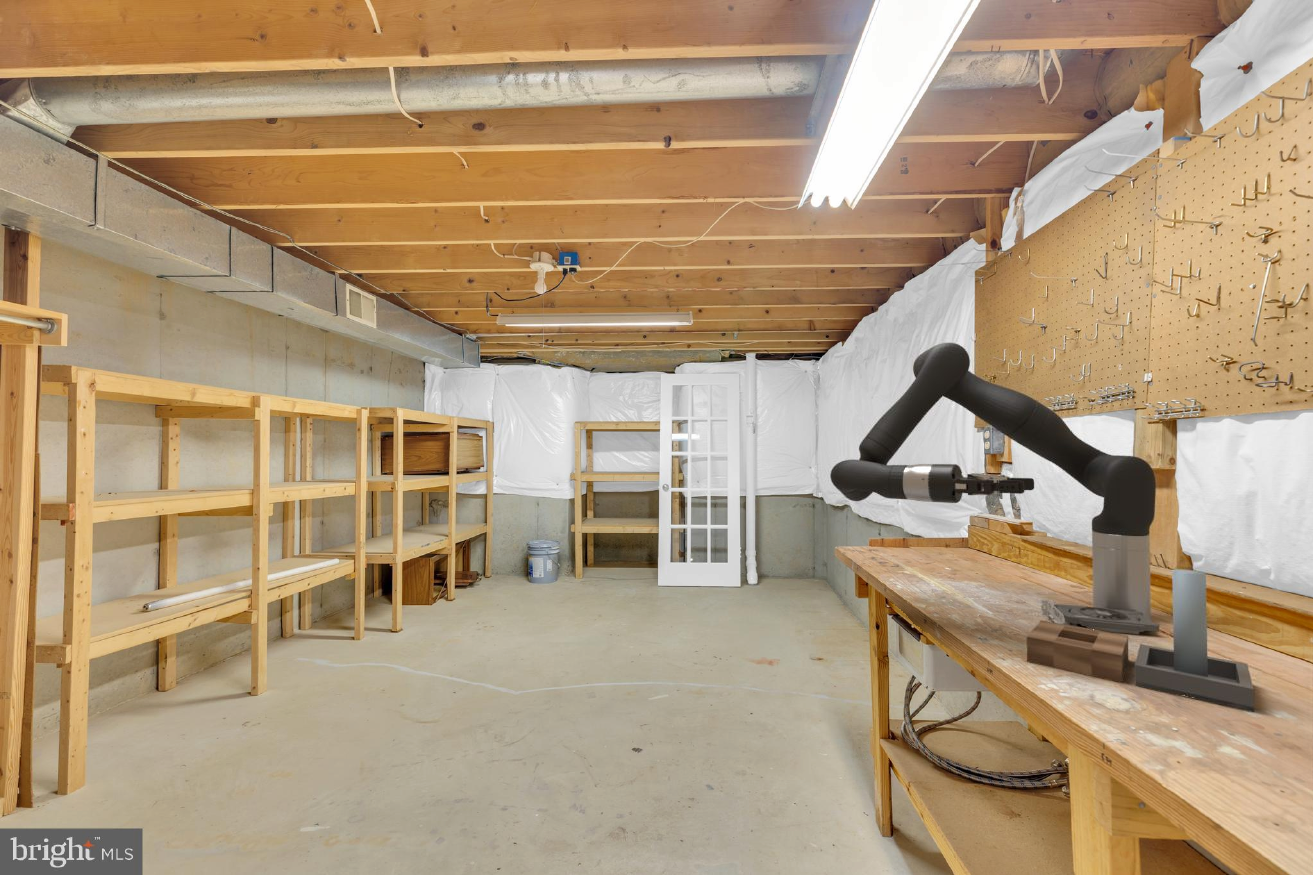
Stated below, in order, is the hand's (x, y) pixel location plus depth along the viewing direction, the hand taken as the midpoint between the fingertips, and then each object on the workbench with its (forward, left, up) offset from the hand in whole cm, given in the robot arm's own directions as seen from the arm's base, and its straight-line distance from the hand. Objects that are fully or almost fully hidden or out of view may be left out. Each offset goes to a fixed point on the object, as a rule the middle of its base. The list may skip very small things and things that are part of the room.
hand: (1029, 485), depth 100 cm
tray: (+4, +21, -28) cm, 35 cm away
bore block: (+4, +7, -28) cm, 29 cm away
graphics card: (-21, +8, -29) cm, 36 cm away
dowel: (+4, +21, -28) cm, 35 cm away
